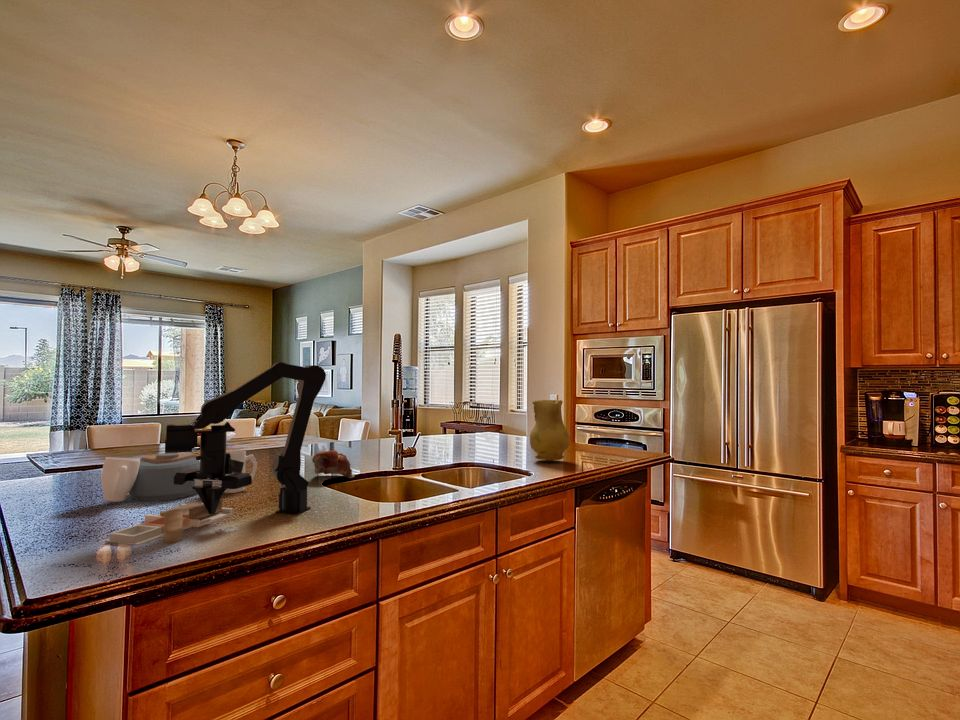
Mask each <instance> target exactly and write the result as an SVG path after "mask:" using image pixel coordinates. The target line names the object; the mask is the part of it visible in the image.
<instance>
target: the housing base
mask: <svg viewBox="0 0 960 720" xmlns="http://www.w3.org/2000/svg"><path fill="white" fill-rule="evenodd" d="M186 504H187V503H181V504H180V506H183V505H186ZM233 512H234V511H233V508H232V507H230V508H229V507H222V511H220V512H217V513H214V514H211V515H208V516H206V517H203V518H200V519H197V520H195V519H189V524H192V525H193V527H192V528H200V527H203V526H206V525H208V524H212V523H214V522H217V521H219V520H223V519H225V518H226V519H227V518H228V517H231V516H234V515H233ZM160 517H163V516H160V514H158V515H157V514H148V513H147V514H145V515H144V522H147V521H150V520H153V519H157V518H160Z"/></svg>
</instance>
